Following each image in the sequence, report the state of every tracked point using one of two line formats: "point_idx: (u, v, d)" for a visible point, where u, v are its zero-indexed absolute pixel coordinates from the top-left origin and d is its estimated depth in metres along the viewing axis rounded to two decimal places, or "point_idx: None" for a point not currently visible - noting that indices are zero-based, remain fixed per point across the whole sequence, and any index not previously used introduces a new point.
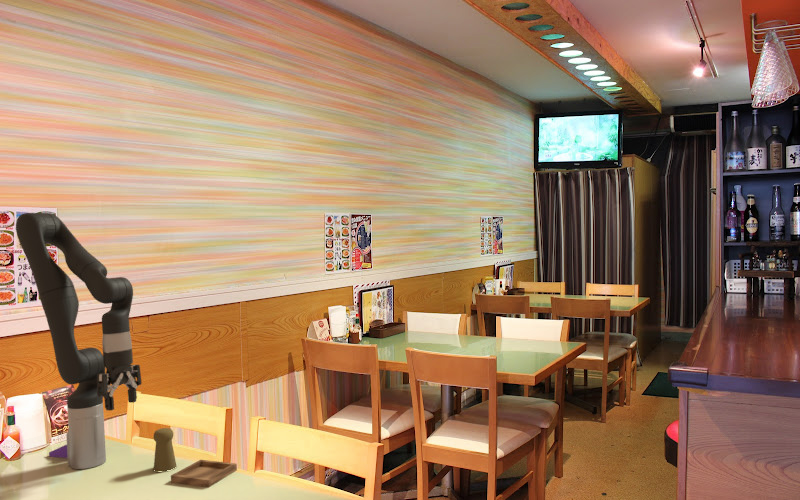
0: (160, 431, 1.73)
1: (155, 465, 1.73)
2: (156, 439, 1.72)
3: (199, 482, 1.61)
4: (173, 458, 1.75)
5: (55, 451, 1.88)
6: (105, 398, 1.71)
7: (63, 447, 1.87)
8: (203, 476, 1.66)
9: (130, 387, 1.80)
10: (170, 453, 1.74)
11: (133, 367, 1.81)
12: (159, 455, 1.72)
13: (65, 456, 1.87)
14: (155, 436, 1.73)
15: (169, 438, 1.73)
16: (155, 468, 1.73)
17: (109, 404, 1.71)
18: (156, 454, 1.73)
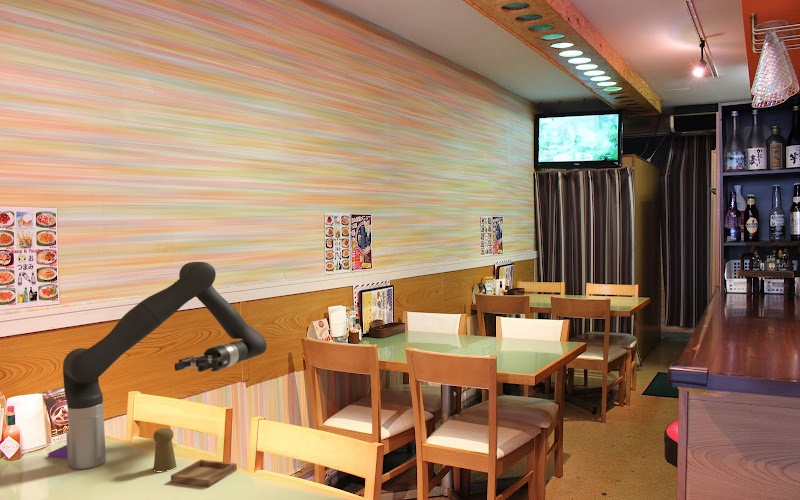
0: (160, 431, 1.73)
1: (155, 465, 1.73)
2: (156, 439, 1.72)
3: (199, 482, 1.61)
4: (173, 458, 1.75)
5: (54, 452, 1.87)
6: (209, 364, 1.86)
7: (63, 448, 1.87)
8: (203, 476, 1.66)
9: (185, 363, 1.90)
10: (170, 453, 1.74)
11: None
12: (159, 455, 1.72)
13: (65, 457, 1.87)
14: (155, 436, 1.73)
15: (169, 438, 1.73)
16: (155, 468, 1.73)
17: None
18: (156, 454, 1.73)
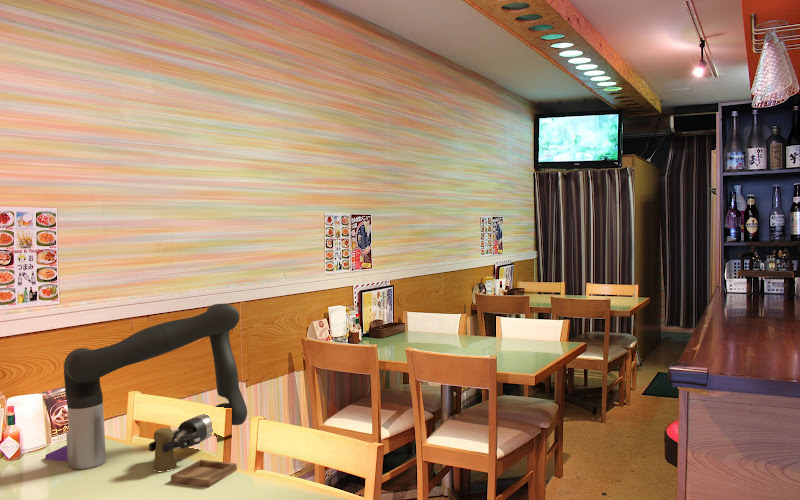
0: (160, 431, 1.73)
1: (155, 465, 1.73)
2: (156, 439, 1.72)
3: (199, 482, 1.61)
4: (173, 458, 1.75)
5: (51, 454, 1.86)
6: (175, 444, 1.74)
7: (59, 450, 1.85)
8: (203, 476, 1.66)
9: None
10: (170, 453, 1.74)
11: None
12: (159, 455, 1.72)
13: (61, 459, 1.85)
14: (155, 436, 1.73)
15: (169, 438, 1.73)
16: (155, 468, 1.73)
17: (170, 449, 1.73)
18: (156, 454, 1.73)
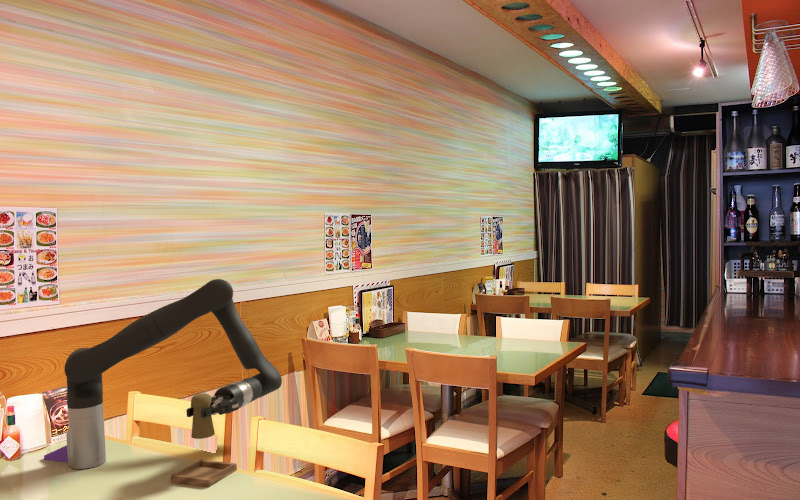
0: (198, 396, 1.66)
1: (193, 431, 1.66)
2: (194, 404, 1.65)
3: (199, 482, 1.61)
4: (211, 424, 1.67)
5: (50, 454, 1.85)
6: (213, 409, 1.67)
7: (58, 450, 1.84)
8: (203, 476, 1.66)
9: None
10: (209, 419, 1.66)
11: None
12: (197, 421, 1.65)
13: (59, 460, 1.84)
14: (193, 401, 1.65)
15: (207, 404, 1.66)
16: (193, 434, 1.65)
17: (208, 415, 1.65)
18: (194, 420, 1.66)
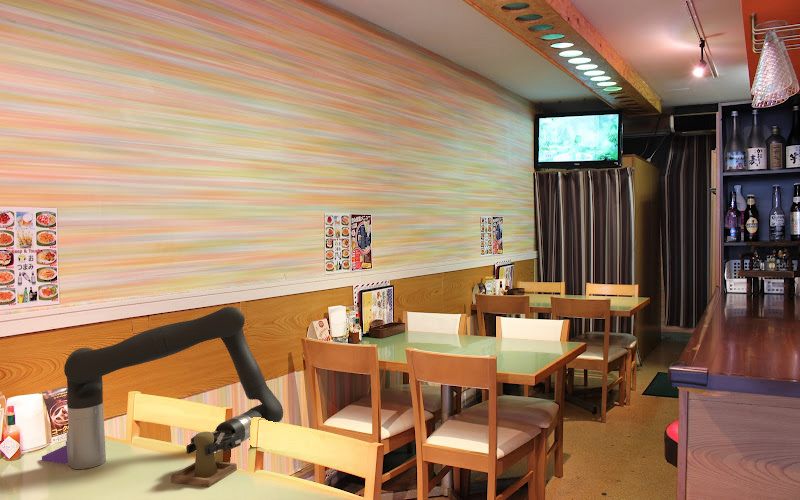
0: (201, 435, 1.66)
1: (196, 470, 1.66)
2: (197, 443, 1.65)
3: (199, 482, 1.61)
4: (214, 463, 1.68)
5: (47, 455, 1.85)
6: (217, 446, 1.67)
7: (55, 451, 1.83)
8: None
9: None
10: (212, 458, 1.67)
11: None
12: (200, 460, 1.65)
13: (57, 461, 1.83)
14: (196, 440, 1.66)
15: (210, 442, 1.66)
16: (196, 473, 1.66)
17: None
18: (197, 459, 1.66)
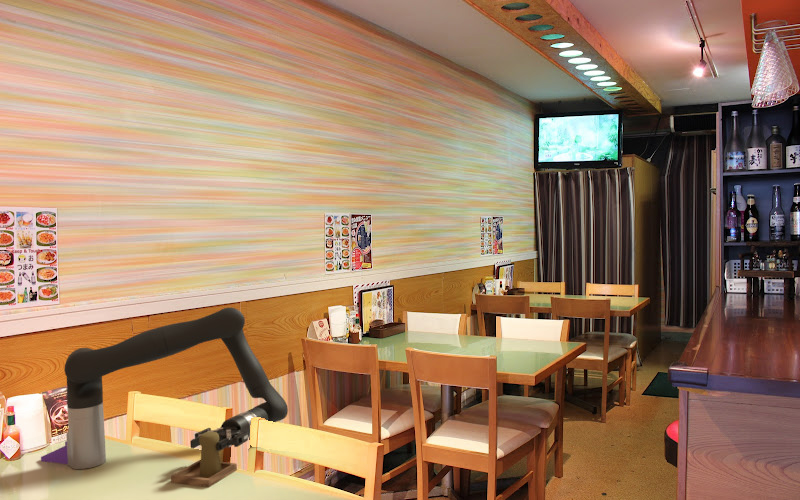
0: (206, 435, 1.66)
1: (201, 470, 1.66)
2: (202, 443, 1.65)
3: (199, 482, 1.61)
4: (219, 463, 1.68)
5: (46, 456, 1.84)
6: (228, 442, 1.69)
7: (54, 452, 1.83)
8: None
9: None
10: (217, 458, 1.67)
11: None
12: (205, 460, 1.65)
13: (56, 461, 1.83)
14: (201, 440, 1.65)
15: (215, 442, 1.66)
16: (201, 473, 1.66)
17: None
18: (202, 459, 1.66)
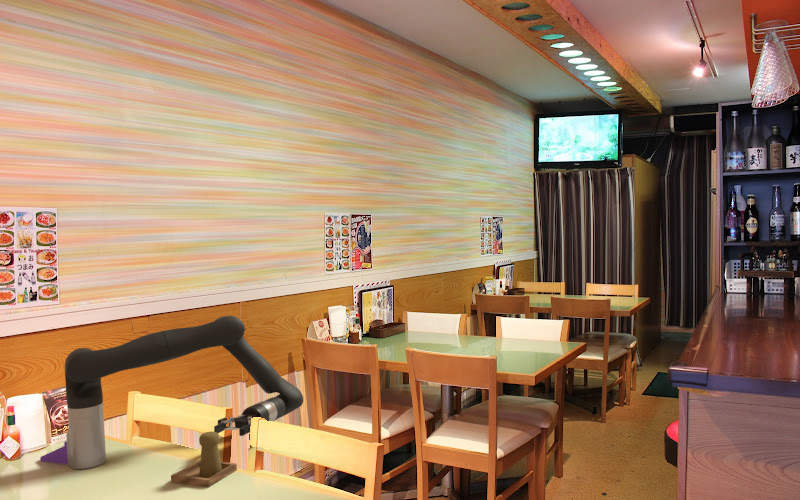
0: (206, 435, 1.66)
1: (201, 470, 1.66)
2: (202, 443, 1.65)
3: (199, 482, 1.61)
4: (219, 463, 1.68)
5: (46, 456, 1.84)
6: None
7: (53, 452, 1.83)
8: None
9: (224, 425, 1.83)
10: (217, 458, 1.67)
11: None
12: (206, 460, 1.65)
13: (55, 461, 1.83)
14: (201, 440, 1.66)
15: (215, 442, 1.66)
16: (201, 473, 1.66)
17: None
18: (202, 459, 1.66)
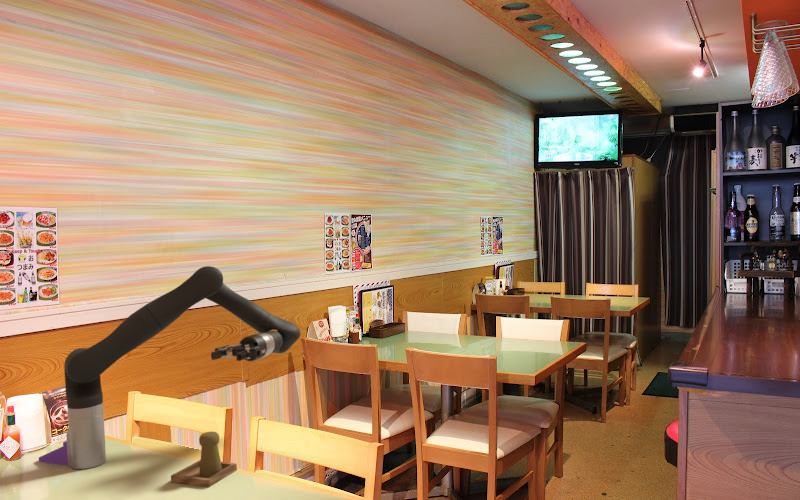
0: (206, 435, 1.66)
1: (201, 470, 1.66)
2: (202, 443, 1.65)
3: (199, 482, 1.61)
4: (219, 463, 1.68)
5: (44, 456, 1.84)
6: (247, 353, 1.79)
7: (52, 452, 1.83)
8: None
9: (222, 352, 1.83)
10: (217, 458, 1.67)
11: None
12: (206, 460, 1.65)
13: (54, 462, 1.82)
14: (201, 440, 1.66)
15: (215, 442, 1.66)
16: (201, 473, 1.66)
17: None
18: (202, 459, 1.66)
